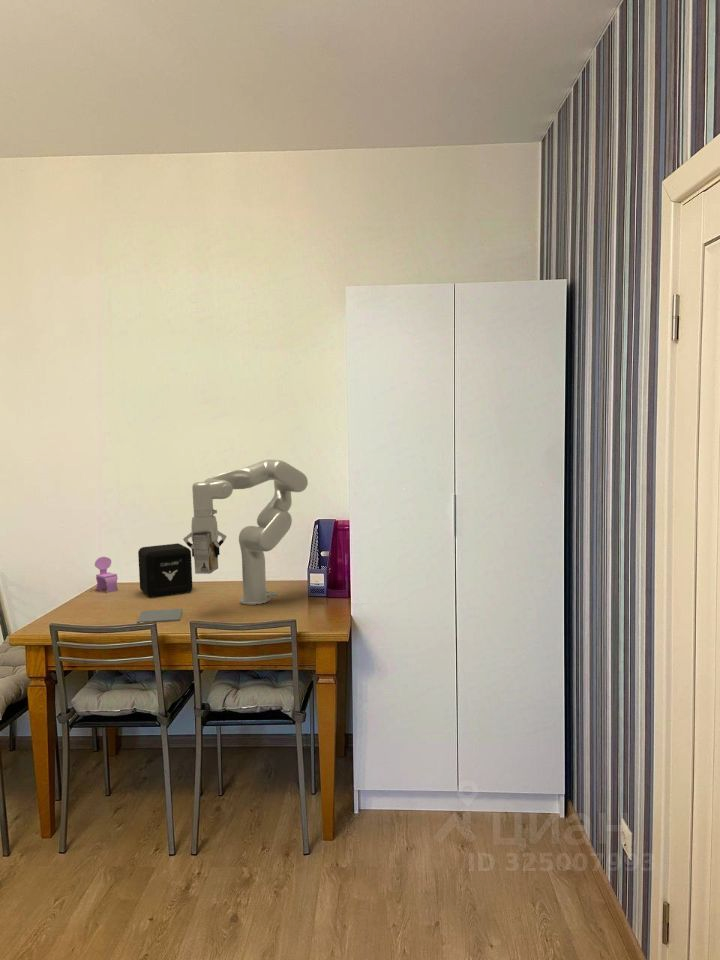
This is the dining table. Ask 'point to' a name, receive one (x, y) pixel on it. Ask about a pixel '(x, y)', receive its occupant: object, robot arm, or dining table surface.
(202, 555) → the coffee box
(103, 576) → the toy chair
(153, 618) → the slate mat
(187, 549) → the black rounded block
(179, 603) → the dining table surface
